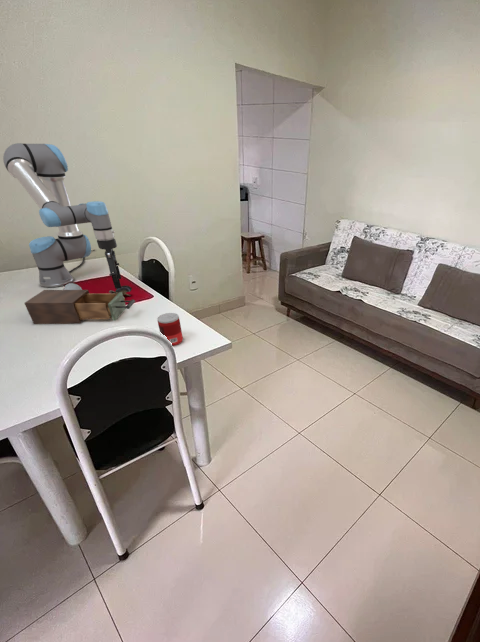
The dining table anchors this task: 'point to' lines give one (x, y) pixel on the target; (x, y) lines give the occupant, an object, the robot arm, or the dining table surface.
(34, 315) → the cabinet
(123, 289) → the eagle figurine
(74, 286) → the ceramic mug
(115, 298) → the drawer
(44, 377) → the dining table surface
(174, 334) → the canned food
